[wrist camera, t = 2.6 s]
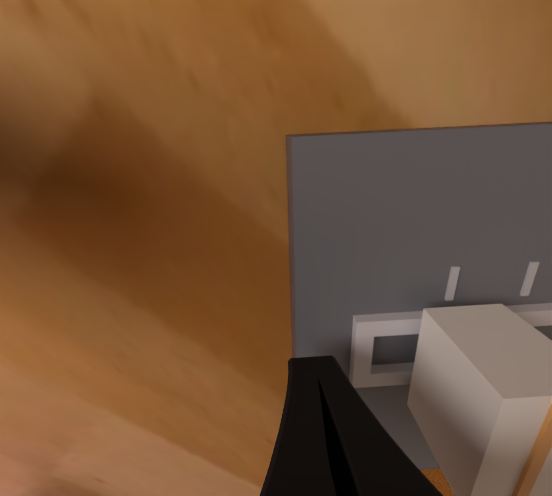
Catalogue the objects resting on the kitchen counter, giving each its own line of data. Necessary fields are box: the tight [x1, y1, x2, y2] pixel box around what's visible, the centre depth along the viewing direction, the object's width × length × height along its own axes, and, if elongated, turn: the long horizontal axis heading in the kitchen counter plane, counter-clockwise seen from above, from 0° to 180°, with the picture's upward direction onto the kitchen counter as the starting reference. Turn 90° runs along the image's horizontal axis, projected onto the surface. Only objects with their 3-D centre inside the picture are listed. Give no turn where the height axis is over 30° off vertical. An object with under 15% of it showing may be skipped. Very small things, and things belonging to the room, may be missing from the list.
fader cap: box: [407, 304, 552, 496], centre depth 8 cm, size 4×2×4 cm, turn 3°
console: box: [286, 122, 552, 470], centre depth 11 cm, size 14×16×3 cm
